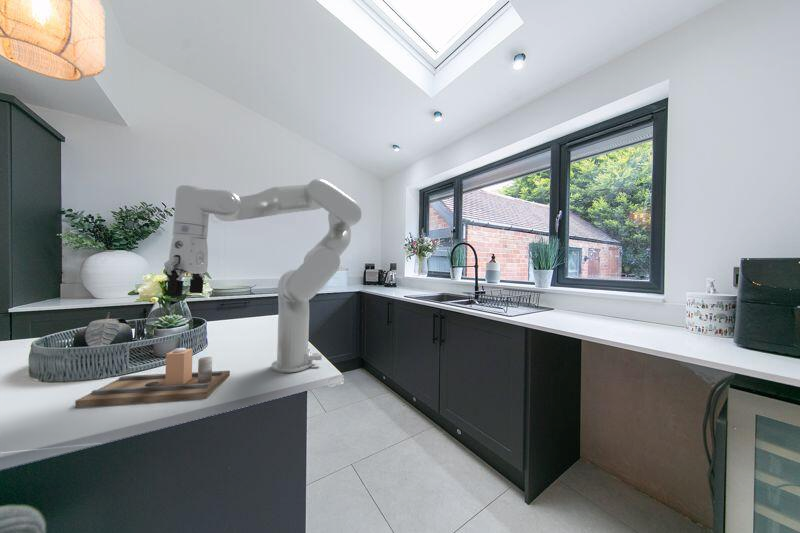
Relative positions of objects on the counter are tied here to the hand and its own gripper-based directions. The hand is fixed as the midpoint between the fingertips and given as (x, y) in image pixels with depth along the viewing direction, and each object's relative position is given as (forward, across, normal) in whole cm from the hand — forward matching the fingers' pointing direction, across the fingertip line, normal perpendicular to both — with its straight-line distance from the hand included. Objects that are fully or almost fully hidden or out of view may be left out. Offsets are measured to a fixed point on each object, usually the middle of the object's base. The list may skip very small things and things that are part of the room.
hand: (185, 294), depth 73 cm
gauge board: (+24, -3, +2) cm, 25 cm away
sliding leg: (+23, -3, -1) cm, 23 cm away
